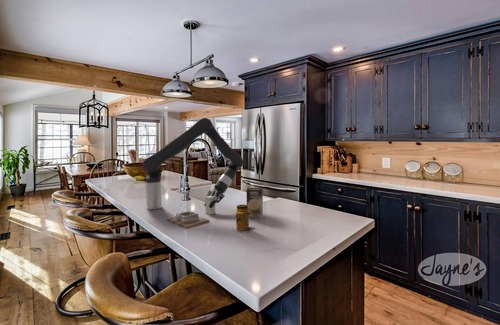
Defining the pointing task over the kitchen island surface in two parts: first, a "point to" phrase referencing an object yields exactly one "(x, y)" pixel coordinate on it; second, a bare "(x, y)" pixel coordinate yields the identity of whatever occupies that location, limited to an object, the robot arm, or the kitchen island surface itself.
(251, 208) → the coffee box
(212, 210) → the post
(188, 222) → the board
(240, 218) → the condiment
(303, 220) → the kitchen island surface
